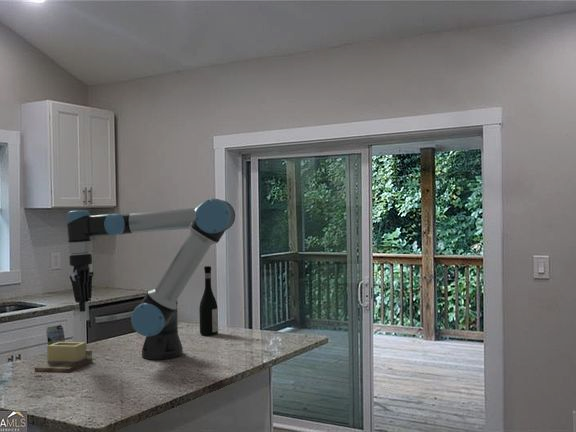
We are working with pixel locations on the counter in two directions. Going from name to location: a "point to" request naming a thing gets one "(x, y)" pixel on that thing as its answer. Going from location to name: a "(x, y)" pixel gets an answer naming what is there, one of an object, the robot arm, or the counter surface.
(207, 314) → the wine bottle
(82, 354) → the frame
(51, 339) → the beverage can
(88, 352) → the wall board
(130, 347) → the counter surface
